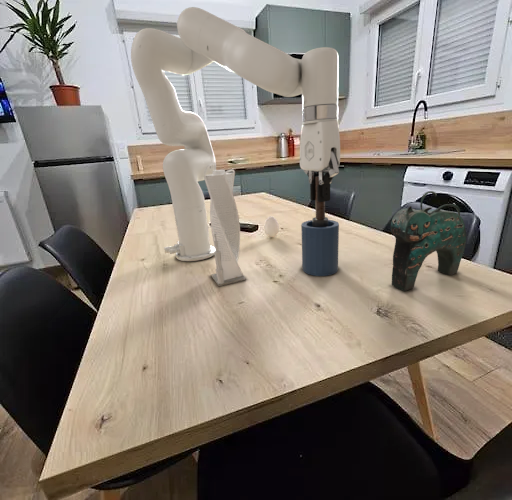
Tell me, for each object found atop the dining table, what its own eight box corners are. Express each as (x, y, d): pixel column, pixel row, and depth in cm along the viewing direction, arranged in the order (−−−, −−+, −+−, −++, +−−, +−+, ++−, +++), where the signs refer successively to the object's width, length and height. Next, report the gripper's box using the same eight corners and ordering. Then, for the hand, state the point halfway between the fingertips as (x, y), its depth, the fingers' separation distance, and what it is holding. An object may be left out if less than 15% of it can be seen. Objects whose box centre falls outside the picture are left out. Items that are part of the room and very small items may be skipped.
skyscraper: (209, 274, 78) (195, 164, 69) (238, 267, 81) (228, 161, 72) (218, 286, 71) (203, 165, 62) (250, 278, 74) (240, 161, 65)
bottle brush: (318, 241, 71) (317, 177, 66) (309, 237, 75) (308, 176, 70) (331, 238, 73) (332, 176, 68) (322, 235, 76) (322, 175, 71)
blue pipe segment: (314, 279, 71) (314, 230, 67) (296, 266, 79) (294, 223, 75) (345, 271, 74) (346, 224, 70) (324, 260, 82) (324, 217, 78)
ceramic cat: (402, 295, 60) (412, 197, 54) (378, 284, 66) (384, 194, 60) (467, 274, 67) (482, 185, 61) (440, 265, 73) (451, 183, 67)
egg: (277, 239, 103) (276, 218, 100) (262, 239, 105) (261, 218, 102) (281, 235, 108) (280, 214, 105) (267, 234, 109) (265, 214, 107)
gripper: (287, 121, 70) (290, 198, 76) (327, 111, 56) (326, 207, 62) (314, 119, 73) (314, 194, 79) (359, 110, 59) (355, 202, 65)
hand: (320, 199), depth 70 cm, fingers closed on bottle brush, 2 cm apart
